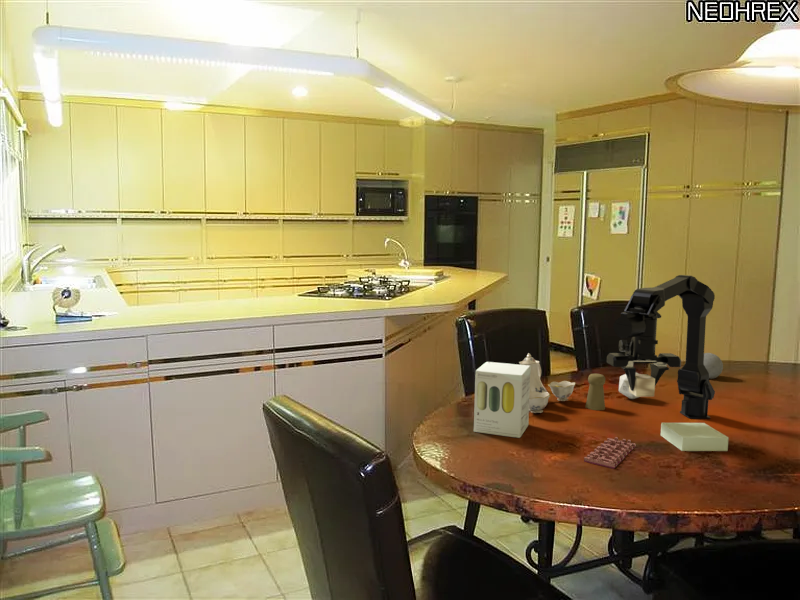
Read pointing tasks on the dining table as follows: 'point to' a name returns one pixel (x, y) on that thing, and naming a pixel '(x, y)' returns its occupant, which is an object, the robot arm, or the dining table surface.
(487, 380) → the supplement box
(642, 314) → the robot arm
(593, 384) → the cork
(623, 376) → the die
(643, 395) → the birch cube
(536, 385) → the chinaware
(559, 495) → the dining table surface
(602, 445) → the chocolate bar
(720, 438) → the sage block
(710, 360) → the decorative ball
